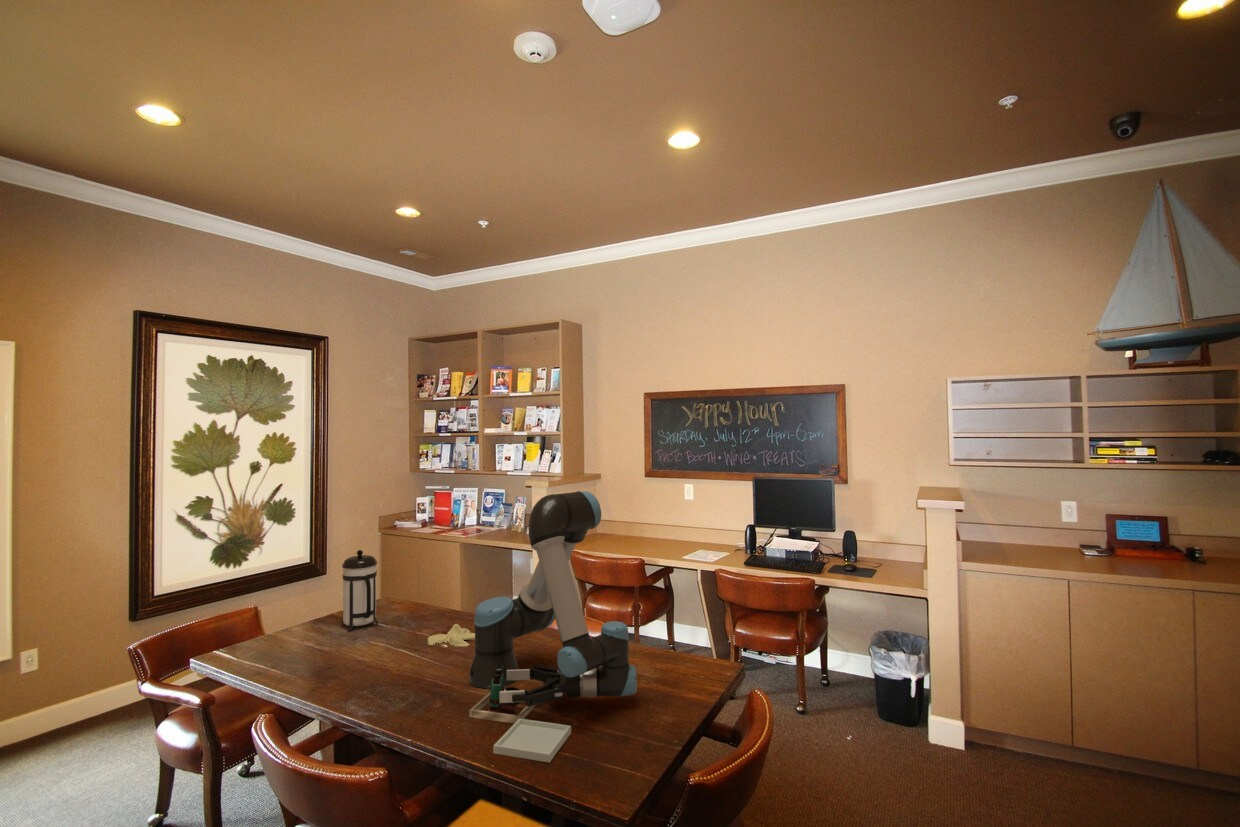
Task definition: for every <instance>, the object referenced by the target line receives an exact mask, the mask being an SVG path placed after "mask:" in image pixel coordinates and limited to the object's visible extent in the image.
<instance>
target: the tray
mask: <svg viewBox="0 0 1240 827" xmlns="http://www.w3.org/2000/svg"><path fill="white" fill-rule="evenodd" d="M571 734H572V725H567V724H561V723H554V722H548V721H547V722H546V721H540V720H535V719H534V720H532V719H526V718H524V719H520V718H519V719H518V720H517V721H516V722H515V724H512V726H510V728H509V729H508V730H507V731H505V733H504V734H503V735H502V736H501V737H500V738H499V739H498V740H497V742H495V743H494V744H493V754H495V755H500V756H506V757H507V756H508V757H514V758H518V759H523V760H525V759H526V760H530V761H537V762H545V763H551V762H552V760H553V759H554V758H555V756H556V755H557V753H558V751H560V749H561V748H562V746H563V745H564V744H565V742H566V741H567V740H568V738H569V737H570V735H571Z"/></svg>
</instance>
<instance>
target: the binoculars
mask: <svg viewBox="0 0 1240 827" xmlns="http://www.w3.org/2000/svg"><path fill="white" fill-rule="evenodd" d="M502 671H503V667H502V666H497V667H496V668H495V672H496V674H495V675H493V680H492V683H491V685H488V688H487V690H488V691H489V693H490V695H489V702H488V704H489V708H488V710H487V711H490V712H497V713H504V714H511V715H514V714H515V710H516V709H515V706H516V705H520V704H521V703H522V702H511V703H500V691H504V690H506V691H518V690H521V689H520V688H518V687H515V686H508V685H506V686H503V683H504V674H501V673H502ZM500 706H501V707H500Z"/></svg>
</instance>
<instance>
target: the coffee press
mask: <svg viewBox="0 0 1240 827" xmlns="http://www.w3.org/2000/svg"><path fill="white" fill-rule="evenodd" d="M377 564H378V560H376V558H375V557H374V556H373V555H368V554H364V551H363V550H362V549H359V550H357V552H356V555H353V556H350V557H347V558H346V559H345V560H344V561H343V563H342V565H341V566H342V567H341V568H342V571H343V572H342V594H343V595H342V596H343V597H342V603H343V604H342V616H343V617H342V619H343V620H342V622H341V624H340V625H341V626H342V625H343V624H345V625H346V626H348V627H347V632H353V631H354V629H355V627H359V626H360V627H361V626H365V625H368V624H371V625H372V626H373V627H377V626H378V625H379V621H378V620H377V572H378V570H377ZM374 622H375V623H374ZM345 625H344V626H345ZM374 625H376V626H374Z"/></svg>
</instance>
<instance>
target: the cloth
mask: <svg viewBox="0 0 1240 827" xmlns="http://www.w3.org/2000/svg"><path fill="white" fill-rule="evenodd" d="M464 640H466V641H464ZM447 641H448V642H449V643H450V644H451V645H454V646H453V647H459V646H460V647H469V646H470V643H469V642H467V641H475V632H471V631H470V630H469V629H468V628H466V627H461V626H460V625H459V624H458V623H455V624H453V625H452V628H450V629H449V631H448V632H447V633H446V634H443V633H438V634H433V635H430V636H428V637H427V645H428V644H429V645H432V646H434V645H436V644H435V643H439V644H441V645H440V647H442V646H444V647H443V648H445V647H448V646H449V645H450V644H449V643H448V642H447ZM442 642H445V643H448V644H449V645H448V644H445V643H442ZM433 644H434V645H433ZM429 645H428V646H429ZM447 645H448V646H447ZM451 645H450V646H451ZM468 645H469V646H468Z"/></svg>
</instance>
